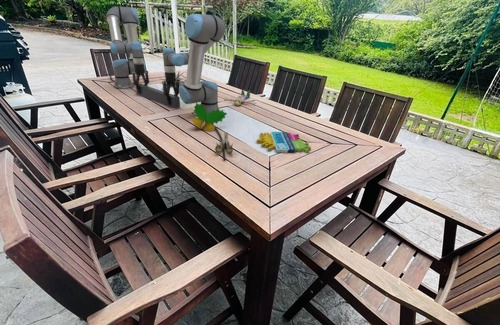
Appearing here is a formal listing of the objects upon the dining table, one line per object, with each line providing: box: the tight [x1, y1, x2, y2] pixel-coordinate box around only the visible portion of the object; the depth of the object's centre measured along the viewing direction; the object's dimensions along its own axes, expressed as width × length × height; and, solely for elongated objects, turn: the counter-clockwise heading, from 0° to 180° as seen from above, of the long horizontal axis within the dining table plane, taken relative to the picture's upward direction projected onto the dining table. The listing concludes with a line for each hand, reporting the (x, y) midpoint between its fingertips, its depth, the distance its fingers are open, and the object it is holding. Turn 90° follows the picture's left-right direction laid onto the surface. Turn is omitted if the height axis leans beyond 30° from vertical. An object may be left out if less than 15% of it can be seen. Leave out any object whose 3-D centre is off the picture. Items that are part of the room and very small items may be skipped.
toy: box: [223, 89, 257, 106], centre depth 219 cm, size 28×7×30 cm
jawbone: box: [214, 131, 234, 156], centre depth 136 cm, size 9×15×10 cm
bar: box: [135, 83, 181, 110], centre depth 207 cm, size 52×4×8 cm, turn 51°
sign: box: [256, 131, 312, 154], centre depth 152 cm, size 26×2×30 cm
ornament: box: [191, 102, 228, 132], centre depth 162 cm, size 21×8×15 cm, turn 105°
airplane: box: [159, 70, 185, 91], centre depth 251 cm, size 38×31×10 cm
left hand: (142, 92), depth 218 cm, fingers open, 5 cm apart
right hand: (172, 103), depth 197 cm, fingers open, 5 cm apart
